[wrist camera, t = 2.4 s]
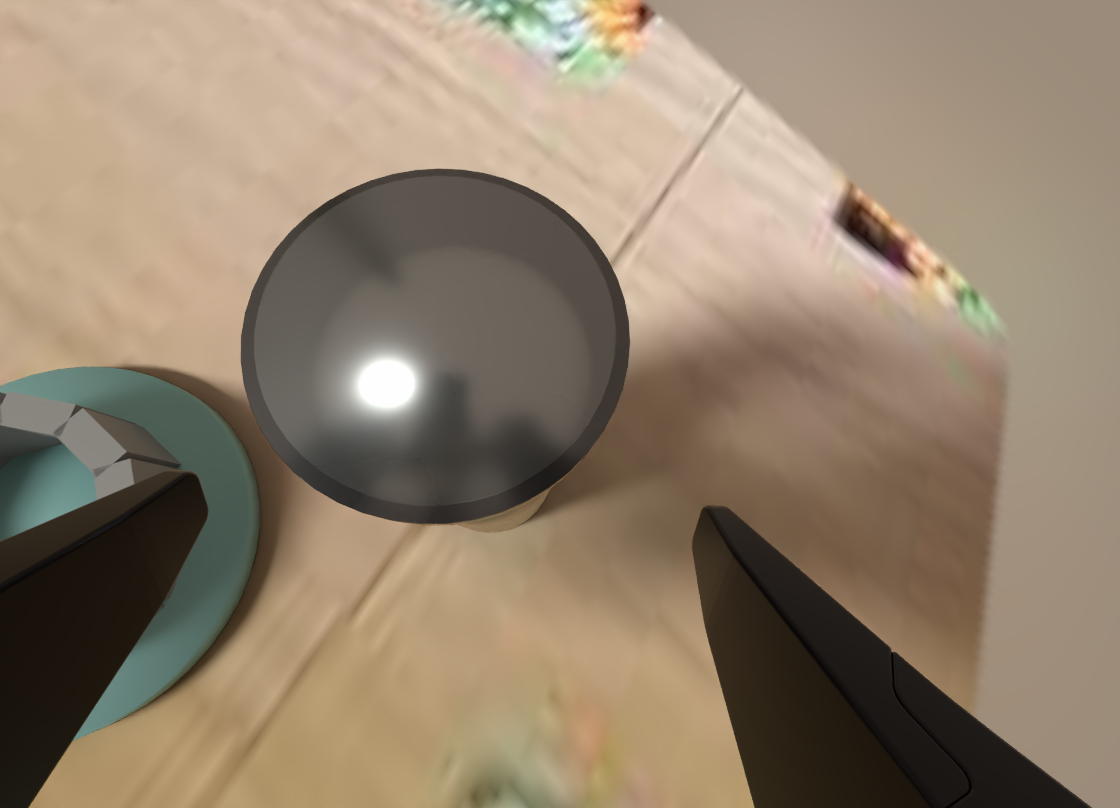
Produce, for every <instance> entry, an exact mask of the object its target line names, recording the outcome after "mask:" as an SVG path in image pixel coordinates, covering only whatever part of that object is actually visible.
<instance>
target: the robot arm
mask: <svg viewBox="0 0 1120 808" xmlns="http://www.w3.org/2000/svg"><path fill="white" fill-rule="evenodd" d="M207 517H208V504H207V501H206V498H205V495H204V492H203V489H202V486H201V483H200V480H199V477H198V476H197V475H196V474H195V473H194V472H192V471H183V470H166V471H163V472H161V473H159V474H156V475H154V476H152V477H149V478H147V479H145V480H142V481H140V482H138V483H135V484H133V485H131V486H128V487H126V488H124V489H121V490H119V491H117V492H114V493H112V494H110V495H107V496H105V497H103V498H100V499H98V500H96V501H93V502H91V503H89V504H86V505H84V506H82V507H79V508H77V509H75V510H72V511H70V512H68V513H65V514H63V515H61V516H58V517H56V518H54V519H51V520H49V521H47V522H44V523H42V524H40V525H37V526H35V527H33V528H30V529H28V530H26V531H23V532H21V533H19V534H16V535H14V536H12V537H9V538H7V539H5V540H2V541H0V808H29V806H30V805H31V803H32V802H33V800H34V799H35V797H36V796H37V794H38V792H39V791H40V789H41V788H42V786H43V785H44V783H45V782H46V780H47V779H48V777H49V776H50V774H51V773H52V771H53V770H54V768H55V767H56V765H57V764H58V762H59V761H60V759H61V758H62V756H63V755H64V753H65V751H66V750H67V748H68V747H69V745H70V744H71V742H72V741H73V739H74V738H75V736H76V735H77V733H78V732H79V730H80V729H81V727H82V726H83V724H84V723H85V721H86V720H87V718H88V717H89V715H90V713H91V712H92V710H93V709H94V707H95V706H96V704H97V703H98V701H99V700H100V698H101V697H102V695H103V694H104V692H105V691H106V689H107V688H108V686H109V685H110V683H111V682H112V680H113V679H114V677H115V676H116V674H117V672H118V671H119V669H120V668H121V666H122V665H123V663H124V662H125V660H126V659H127V657H128V656H129V654H130V653H131V651H132V650H133V648H134V647H135V645H136V644H137V642H138V641H139V639H140V638H141V636H142V634H143V633H144V631H145V630H146V628H147V627H148V625H149V624H150V622H151V621H152V619H153V618H154V616H155V615H156V613H157V612H158V610H159V608H160V607H161V605H162V604H163V602H164V600H165V599H166V597H167V595H168V593H169V591H170V590H171V588H172V586H173V584H174V582H175V580H176V578H177V576H178V575H179V573H180V571H181V569H182V567H183V565H184V563H185V561H186V559H187V557H188V555H189V553H190V552H191V550H192V548H193V546H194V544H195V542H196V540H197V538H198V536H199V534H200V532H201V531H202V529H203V527H204V525H205V523H206V520H207ZM692 550H693V557H694V563H695V569H696V575H697V582H698V588H699V594H700V600H701V607H702V613H703V619H704V624H705V629H706V633H707V637H708V641H709V645H710V648H711V652H712V656H713V659H714V663H715V666H716V670H717V674H718V677H719V681H720V684H721V688H722V692H723V695H724V699H725V702H726V706H727V710H728V713H729V717H730V720H731V724H732V728H733V731H734V735H735V739H736V742H737V746H738V749H739V753H740V757H741V760H742V764H743V767H744V771H745V775H746V778H747V782H748V785H749V789H750V793H751V796H752V800H753V803H754V807H755V808H1091V807H1090V806H1089V805H1088V804H1086V803H1085V802H1084V801H1082V800H1081V799H1080V798H1078V797H1077V796H1076V795H1075V794H1073V793H1072V792H1070V791H1069V790H1068V789H1067V788H1065V787H1064V786H1063V785H1061V784H1060V783H1059V782H1057V781H1056V780H1055V779H1054V778H1052V777H1051V776H1050V775H1048V774H1047V773H1046V772H1044V771H1043V770H1042V769H1041V768H1039V767H1038V766H1037V765H1035V764H1034V763H1033V762H1031V761H1030V760H1029V759H1027V758H1026V757H1025V756H1023V755H1022V754H1021V753H1020V752H1018V751H1017V750H1016V749H1014V748H1013V747H1012V746H1010V745H1009V744H1008V743H1007V742H1005V741H1004V740H1003V739H1001V738H1000V737H999V736H997V735H996V734H995V733H994V732H992V731H991V730H989V728H987V727H986V726H985V725H983V724H982V723H981V722H980V721H978V720H977V719H976V718H975V717H973V716H972V715H971V714H969V713H968V712H967V711H966V710H964V709H963V708H962V707H961V706H959V705H958V704H957V703H955V702H954V701H953V700H952V699H951V698H949V697H948V696H947V695H946V694H945V693H943V692H942V691H941V690H940V689H939V688H937V687H936V686H935V685H934V684H933V683H931V682H930V681H929V680H928V679H927V678H925V677H924V676H923V675H922V674H921V673H919V672H918V671H917V670H916V669H915V668H914V667H912V666H911V665H910V664H909V663H908V662H907V661H905V660H904V659H903V658H902V657H901V656H900V655H899V654H897V653H896V652H891V648H890V647H889V646H888V645H887V644H886V643H884V642H883V641H882V640H881V639H880V638H879V637H877V636H876V635H875V634H874V633H873V632H872V631H870V630H869V629H868V628H867V627H866V626H865V625H863V624H862V623H861V622H860V621H859V620H858V619H857V618H855V617H854V616H853V615H852V614H851V613H850V612H848V611H847V610H846V609H845V608H844V607H843V606H841V605H840V604H839V603H838V602H837V601H836V600H834V599H833V598H832V597H831V596H830V595H829V594H828V593H826V592H825V591H824V590H823V589H822V588H821V587H819V586H818V585H817V584H816V583H815V582H814V581H812V580H811V579H810V578H809V577H808V576H807V575H805V574H804V573H803V572H802V571H801V570H800V569H799V568H797V567H796V566H795V565H794V564H793V563H792V562H790V561H789V560H788V559H787V558H786V557H785V556H783V555H782V554H781V553H780V552H779V551H778V550H776V549H775V548H774V547H773V546H772V545H771V544H770V543H768V542H767V541H766V540H765V539H764V538H763V537H761V536H760V535H759V534H758V533H757V532H756V531H754V530H753V529H752V528H751V527H750V526H749V525H747V524H746V523H745V522H744V521H743V520H742V519H741V518H739V517H738V516H737V515H736V514H735V513H734V512H732V511H731V510H730V509H729V508H727V507H724V506H711V505H707V506H705V507H704V508H703V509H702V511H701V514H700V517H699V520H698V523H697V527H696V530H695V533H694V536H693V541H692Z"/></svg>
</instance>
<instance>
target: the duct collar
mask: <svg viewBox="0 0 1120 808" xmlns="http://www.w3.org/2000/svg"><path fill="white" fill-rule="evenodd" d="M166 470H183V471H192V472H194V473H195V474H196V475H197V476H198V477H199V480H200V483H201V486H202V489H203V492H204V495H205V498H206V501H207V504H208V517H207V520H206V523H205V525H204V527H203V529H202V531H201V532H200V534H199V536H198V538H197V540H196V542H195V544H194V546H193V548H192V550H191V552H190V553H189V555H188V557H187V559H186V561H185V563H184V565H183V567H182V569H181V571H180V573H179V575H178V576H177V578H176V580H175V582H174V584H173V586H172V588H171V590H170V591H169V593H168V595H167V597H166V599H165V600H164V602H163V604H162V605H161V607H160V608H159V610H158V612H157V613H156V615H155V616H154V618H153V619H152V621H151V622H150V624H149V625H148V627H147V628H146V630H145V631H144V633H143V634H142V636H141V638H140V639H139V641H138V642H137V644H136V645H135V647H134V648H133V650H132V651H131V653H130V654H129V656H128V657H127V659H126V660H125V662H124V663H123V665H122V666H121V668H120V669H119V671H118V672H117V674H116V676H115V677H114V679H113V680H112V682H111V683H110V685H109V686H108V688H107V689H106V691H105V692H104V694H103V695H102V697H101V698H100V700H99V701H98V703H97V704H96V706H95V707H94V709H93V710H92V712H91V713H90V715H89V717H88V718H87V720H86V721H85V723H84V724H83V726H82V727H81V729H80V730H79V732H78V733H77V735H76V736H75V738H74V739H73V741H74V740H76V739H78V738H80V737H83V736H85V735H87V734H90V733H92V732H94V731H96V730H99V729H101V728H103V727H105V726H108V725H110V724H112V723H114V722H117V721H119V720H121V719H123V718H125V717H126V716H128V715H130V714H132V713H133V712H135V711H137V710H138V709H140V708H142V707H144V706H145V705H147V704H148V703H150V702H151V701H153V700H154V699H155V698H157V697H158V696H159V695H161V694H162V693H163V692H165V691H166V690H167V689H169V688H170V687H171V686H172V685H174V684H175V683H176V682H177V681H178V680H179V679H180V678H181V677H182V676H183V675H184V674H185V673H187V672H188V671H189V670H190V669H191V668H192V667H193V666H194V665H195V664H196V663H197V661H198V660H199V659H200V658H201V657H202V656H203V655H204V653H205V652H206V651H207V650H208V649H209V648H210V647H211V645H212V644H213V643H214V641H215V640H216V638H217V637H218V635H219V634H220V633H221V631H222V630H223V628H224V627H225V625H226V624H227V623H228V621H229V619H230V617H231V615H232V613H233V612H234V610H235V608H236V606H237V604H238V602H239V601H240V599H241V596H242V594H243V591H244V589H245V586H246V584H247V581H248V579H249V577H250V573H251V570H252V566H253V562H254V559H255V555H256V551H257V545H258V537H259V530H260V501H259V494H258V486H257V481H256V478H255V474H254V471H253V467H252V464H251V462H250V459H249V457H248V455H247V453H246V451H245V448H244V446H243V444H242V443H241V441H240V440H239V438H238V437H237V435H236V434H235V432H234V431H233V429H232V428H231V427H230V426H229V425H228V423H227V422H226V421H225V420H224V419H223V418H222V417H221V416H220V415H219V414H218V413H217V412H216V411H215V410H214V409H212V408H211V407H210V406H209V405H207V404H206V403H205V402H204V401H202V400H201V399H199V398H197V397H195V396H194V395H192V394H190V393H189V392H187V391H185V390H183V389H181V388H179V387H177V386H174V385H172V384H170V383H168V382H165V381H163V380H160V379H158V378H156V377H153V376H150V375H147V374H143V373H139V372H135V371H131V370H125V369H118V368H110V367H76V368H67V369H58V370H53V371H48V372H44V373H39V374H34V375H31V376H28V377H25V378H22V379H18V380H15V381H12V382H9V383H7V384H5V385H2V386H0V541H2V540H5V539H7V538H9V537H12V536H14V535H16V534H19V533H21V532H23V531H26V530H28V529H30V528H33V527H35V526H37V525H40V524H42V523H44V522H47V521H49V520H51V519H54V518H56V517H58V516H61V515H63V514H65V513H68V512H70V511H72V510H75V509H77V508H79V507H82V506H84V505H86V504H89V503H91V502H93V501H96V500H98V499H100V498H103V497H105V496H107V495H110V494H112V493H114V492H117V491H119V490H121V489H124V488H126V487H128V486H131V485H133V484H135V483H138V482H140V481H142V480H145V479H147V478H149V477H152V476H154V475H156V474H159V473H161V472H163V471H166Z"/></svg>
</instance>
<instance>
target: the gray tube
mask: <svg viewBox="0 0 1120 808" xmlns="http://www.w3.org/2000/svg"><path fill="white" fill-rule="evenodd" d="M629 347H630V337H629V320H628V315H627V310H626V305H625V300H624V297H623V294H622V291H621V288H620V285H619V282H618V279H617V277H616V275H615V273H614V271H613V269H612V267H611V265H610V263H609V261H608V259H607V257H606V256H605V255H604V253H603V252H602V250H601V249H600V247H599V246H598V244H597V243H596V241H595V240H594V239H593V238H592V237H591V235H590V234H589V233H588V232H587V231H586V230H585V229H584V228H583V226H582V225H581V224H580V223H579V222H577V221H576V220H575V219H574V218H573V217H572V216H571V215H569V214H568V213H567V212H566V211H565V210H564V209H562V208H561V207H559V206H558V205H556V204H555V203H554V202H552V201H551V200H549V199H548V198H546V197H544V196H542V195H541V194H539V193H537V192H535V191H533V190H531V189H529V188H527V187H525V186H522V185H520V184H517V183H515V182H512V181H510V180H507V179H504V178H500V177H496V176H493V175H489V174H485V173H480V172H473V171H466V170H455V169H428V170H414V171H409V172H403V173H397V174H392V175H389V176H385V177H382V178H378V179H375V180H371V181H369V182H366V183H364V184H361V185H359V186H356V187H354V188H352V189H349V190H347V191H345V192H344V193H342V194H340V195H338V196H336V197H335V198H333V199H331V200H329V201H327V202H326V203H325V204H323V205H322V206H320V207H319V208H318V209H316V210H315V211H313V212H312V213H311V214H309V215H308V216H307V217H306V218H305V219H304V220H303V221H301V222H300V223H299V224H298V225H297V226H296V227H295V228H294V229H293V230H292V231H291V232H290V233H289V234H288V235H287V236H286V237H285V239H284V240H283V241H282V242H281V243H280V244H279V246H278V247H277V248H276V249H275V251H274V252H273V254H272V255H271V257H270V258H269V260H268V261H267V263H266V265H265V266H264V268H263V269H262V271H261V273H260V275H259V278H258V280H257V282H256V284H255V286H254V288H253V290H252V293H251V296H250V299H249V303H248V306H247V309H246V312H245V317H244V323H243V329H242V335H241V366H242V374H243V381H244V387H245V390H246V393H247V397H248V400H249V404H250V407H251V410H252V412H253V414H254V416H255V418H256V420H257V423H258V425H259V427H260V429H261V431H262V433H263V434H264V436H265V437H266V439H267V440H268V442H269V443H270V445H271V446H272V448H273V449H274V451H275V452H276V453H277V454H278V455H279V457H280V458H281V459H282V460H283V461H284V462H285V463H286V464H287V465H288V466H289V467H290V469H291V470H292V471H293V472H294V473H296V474H297V475H298V476H299V477H301V478H302V479H303V480H304V481H305V482H307V483H308V484H309V485H310V486H312V487H313V488H314V489H316V490H317V491H319V492H321V493H323V494H324V495H326V496H328V497H329V498H331V499H333V500H334V501H336V502H338V503H340V504H343V505H345V506H347V507H350V508H352V509H355V510H357V511H359V512H362V513H365V514H369V515H373V516H376V517H380V518H384V519H388V520H392V521H398V522H403V523H412V524H420V525H460V526H463V527H466V528H469V529H473V530H476V531H481V532H500V531H505V530H509V529H512V528H514V527H516V526H519V525H520V524H522V523H524V522H525V521H527V520H528V519H529V518H530V517H532V516H533V515H534V514H535V513H536V511H537V510H538V509H539V508H540V506H541V505H542V503H543V502H544V500H545V498H546V497H547V495H548V493H549V491H550V490H551V488H552V487H553V486H555V485H556V484H557V483H559V482H560V481H561V480H562V479H564V478H565V477H566V476H567V475H568V474H569V473H570V472H571V471H572V470H573V469H574V468H575V467H576V466H577V465H578V464H579V463H580V462H581V461H582V459H583V458H584V457H585V455H586V454H587V453H588V451H589V450H590V449H591V447H592V446H593V444H594V443H595V442H596V440H597V439H598V438H599V436H600V435H601V434H602V432H603V431H604V429H605V427H606V425H607V423H608V421H609V420H610V418H611V416H612V414H613V412H614V410H615V408H616V405H617V402H618V400H619V397H620V394H621V392H622V389H623V385H624V381H625V376H626V372H627V368H628V359H629Z"/></svg>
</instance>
